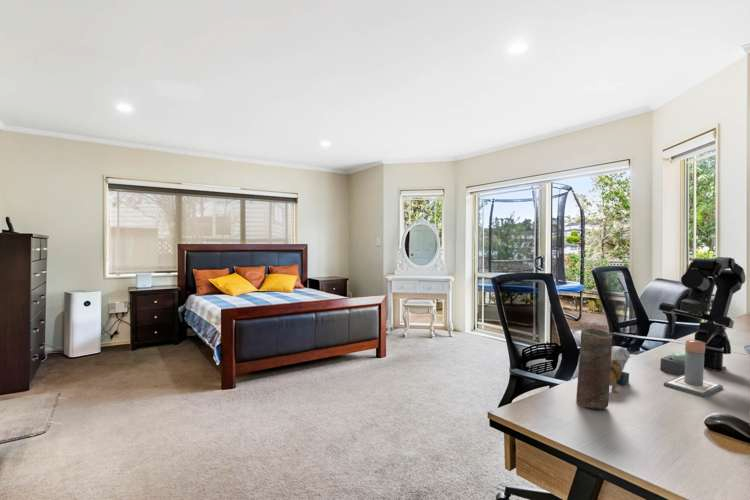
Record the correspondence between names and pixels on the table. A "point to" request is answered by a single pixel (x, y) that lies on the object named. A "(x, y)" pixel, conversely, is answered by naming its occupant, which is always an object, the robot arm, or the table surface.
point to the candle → (594, 368)
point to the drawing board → (697, 390)
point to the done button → (678, 357)
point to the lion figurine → (615, 373)
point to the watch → (622, 357)
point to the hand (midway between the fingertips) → (687, 339)
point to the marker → (694, 362)
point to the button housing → (672, 366)
